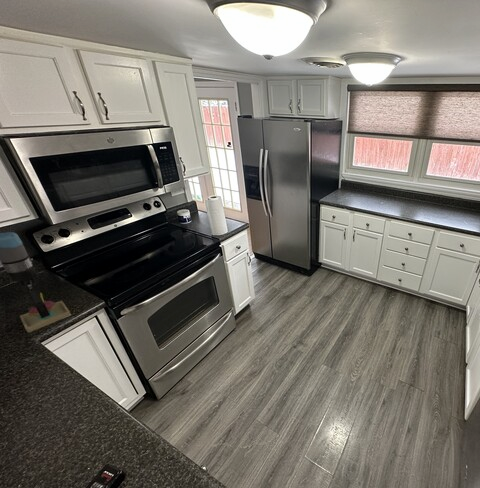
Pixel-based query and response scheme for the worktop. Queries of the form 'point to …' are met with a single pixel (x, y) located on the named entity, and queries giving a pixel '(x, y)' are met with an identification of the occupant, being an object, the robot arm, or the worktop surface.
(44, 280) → the worktop surface
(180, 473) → the worktop surface
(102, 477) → the worktop surface
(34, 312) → the cupcake
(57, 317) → the tray
